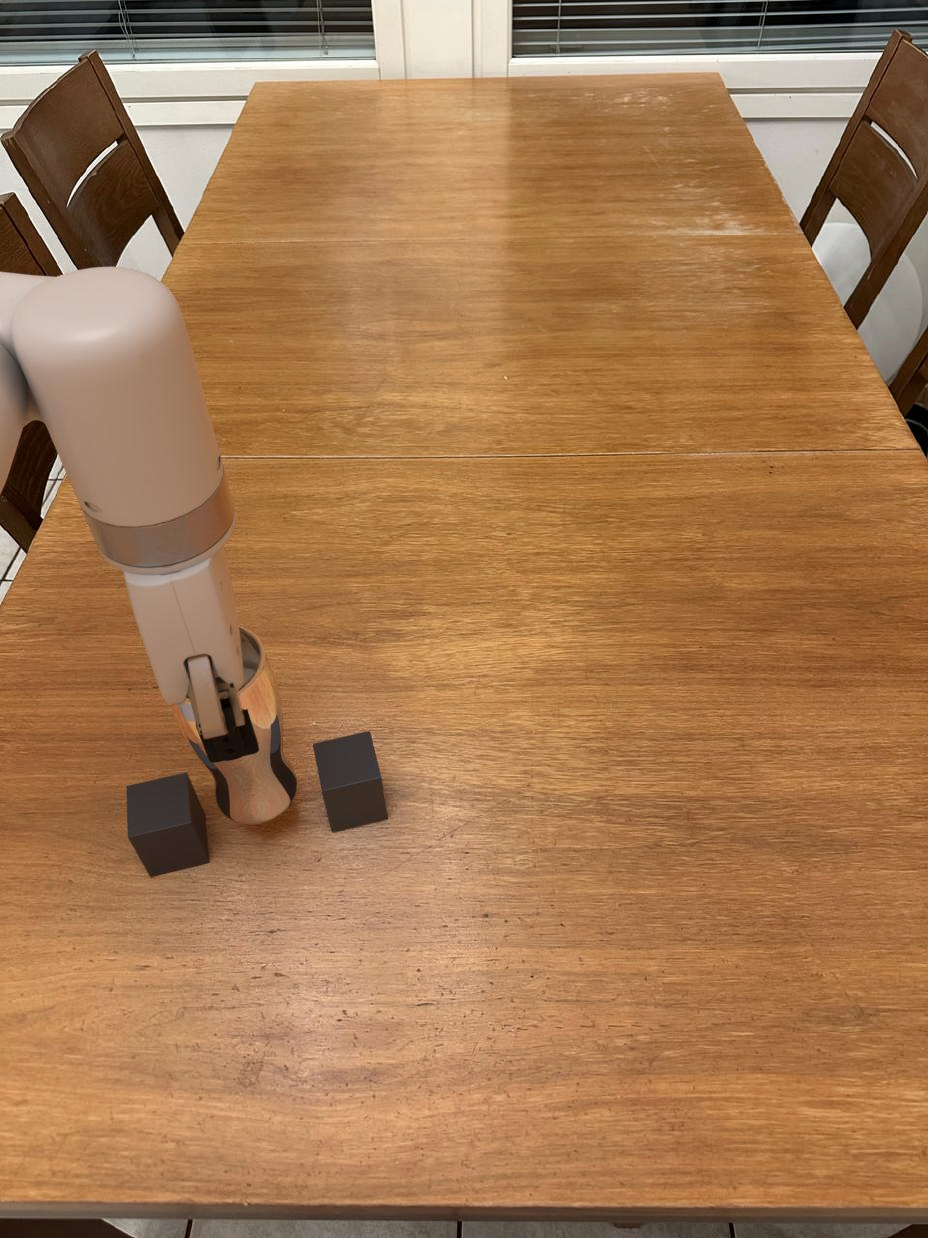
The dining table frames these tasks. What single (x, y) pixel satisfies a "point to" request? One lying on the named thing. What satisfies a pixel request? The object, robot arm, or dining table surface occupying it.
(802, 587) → the dining table surface
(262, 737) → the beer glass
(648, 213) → the dining table surface
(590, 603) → the dining table surface
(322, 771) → the block right
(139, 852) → the block left
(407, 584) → the dining table surface
